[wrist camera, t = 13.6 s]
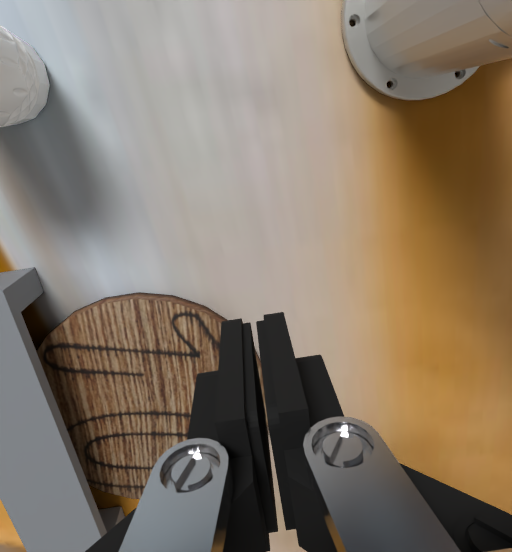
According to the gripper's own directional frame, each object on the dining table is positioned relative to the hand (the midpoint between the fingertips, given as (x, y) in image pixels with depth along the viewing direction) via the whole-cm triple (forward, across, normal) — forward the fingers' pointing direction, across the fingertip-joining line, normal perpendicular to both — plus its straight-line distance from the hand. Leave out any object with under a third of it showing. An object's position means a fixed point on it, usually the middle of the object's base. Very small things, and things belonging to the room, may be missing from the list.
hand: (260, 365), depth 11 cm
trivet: (+28, +13, +20) cm, 36 cm away
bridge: (+27, +24, +20) cm, 41 cm away
